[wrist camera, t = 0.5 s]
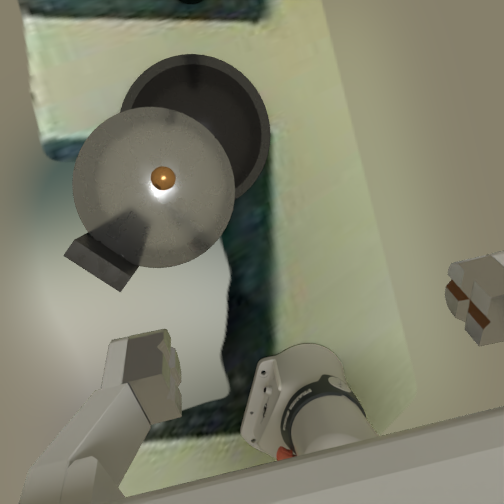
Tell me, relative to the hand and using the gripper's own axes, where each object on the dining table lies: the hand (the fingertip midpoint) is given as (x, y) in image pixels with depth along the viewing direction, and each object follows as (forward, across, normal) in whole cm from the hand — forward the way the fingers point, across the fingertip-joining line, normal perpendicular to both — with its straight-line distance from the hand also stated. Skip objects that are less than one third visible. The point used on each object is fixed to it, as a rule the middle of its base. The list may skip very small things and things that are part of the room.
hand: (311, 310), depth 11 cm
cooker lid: (+43, -11, -15) cm, 47 cm away
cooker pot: (+54, -4, -13) cm, 55 cm away
